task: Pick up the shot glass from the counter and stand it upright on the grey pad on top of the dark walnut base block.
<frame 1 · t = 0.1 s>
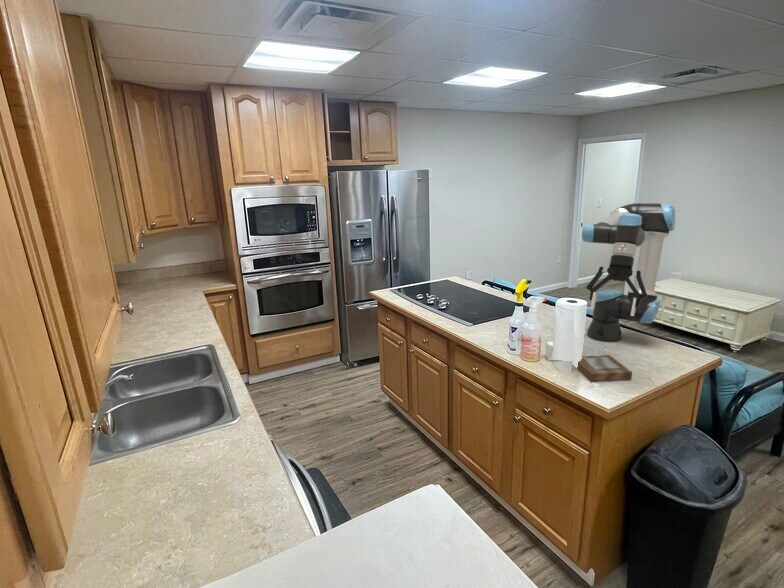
hand: (611, 312, 156), 28 cm above the counter, tool tilted 20°, fingers open, 13 cm apart
walnut base: (600, 372, 170), on the counter
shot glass: (552, 358, 184), on the counter
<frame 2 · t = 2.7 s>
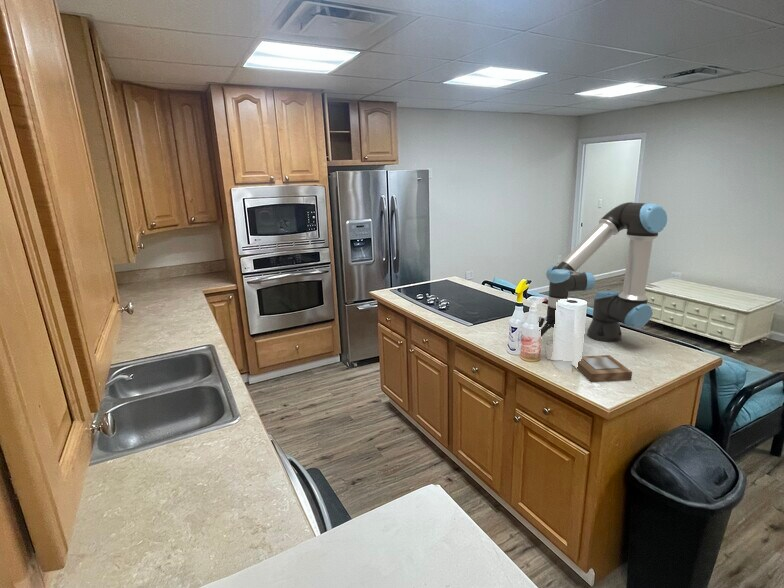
hand: (552, 352, 183), 3 cm above the counter, tool pointing down, fingers open, 13 cm apart
nothing on the counter moved.
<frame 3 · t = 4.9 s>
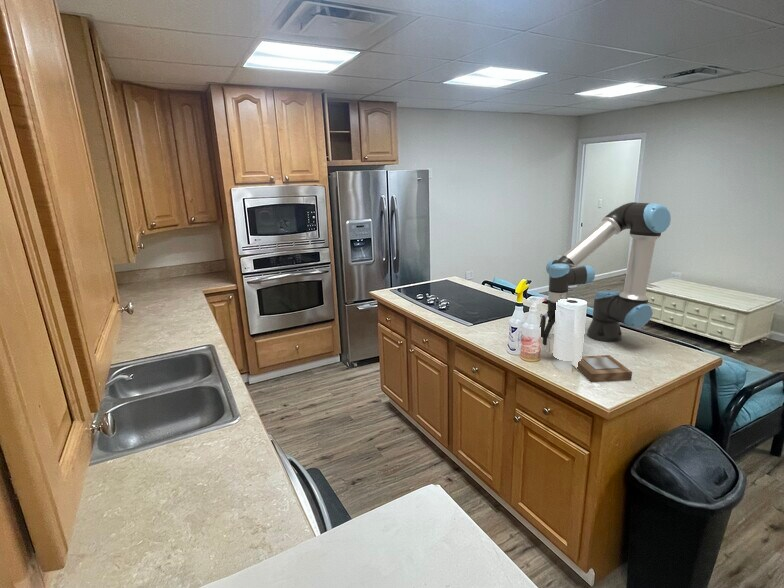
hand: (554, 350, 183), 3 cm above the counter, tool pointing down, fingers closed on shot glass, 7 cm apart
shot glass: (554, 352, 183), point 3 cm above the counter, touching gripper
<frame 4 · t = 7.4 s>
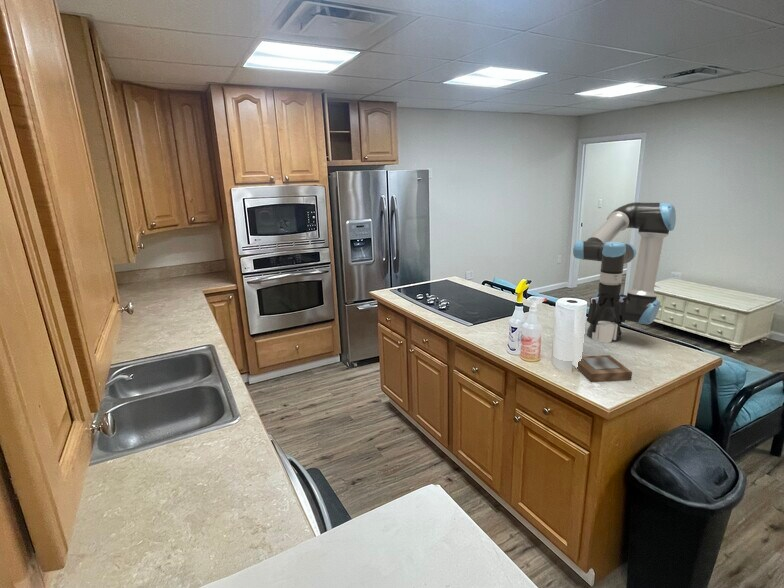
hand: (603, 339, 166), 14 cm above the counter, tool pointing down, fingers closed on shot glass, 7 cm apart
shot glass: (603, 340, 166), point 14 cm above the counter, touching gripper
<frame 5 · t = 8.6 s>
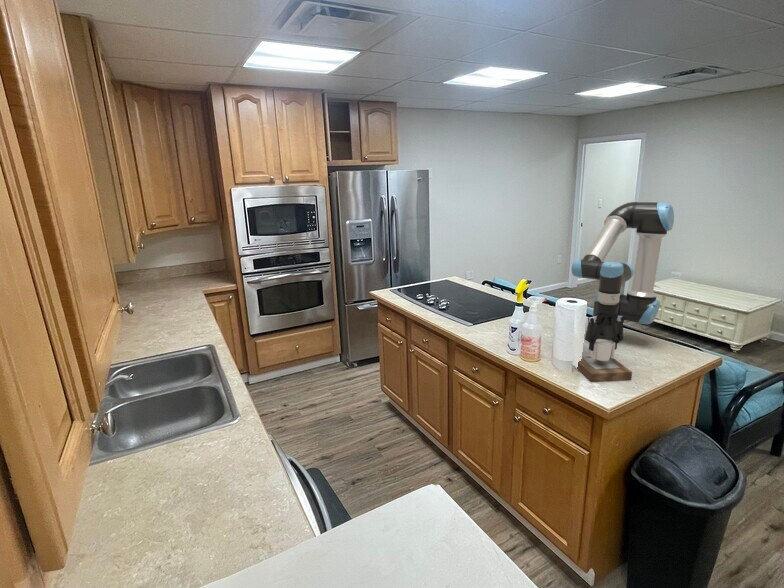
hand: (601, 357, 168), 7 cm above the counter, tool pointing down, fingers closed on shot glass, 7 cm apart
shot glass: (601, 358, 168), point 6 cm above the counter, touching gripper
when the fingers open (5 cm above the counter, at t = 9.7 s): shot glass stays where it is, resting on walnut base.
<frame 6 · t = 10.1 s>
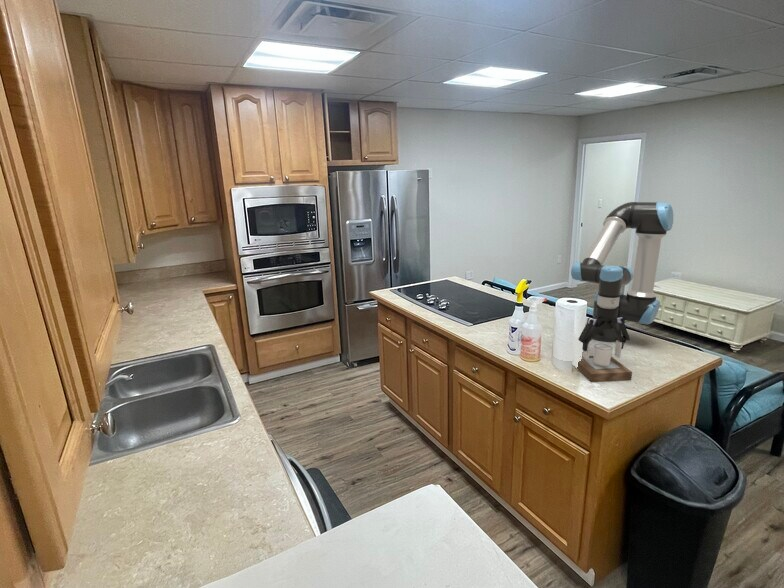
hand: (601, 357, 168), 6 cm above the counter, tool pointing down, fingers open, 12 cm apart
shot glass: (601, 363, 169), point 4 cm above the counter, touching walnut base
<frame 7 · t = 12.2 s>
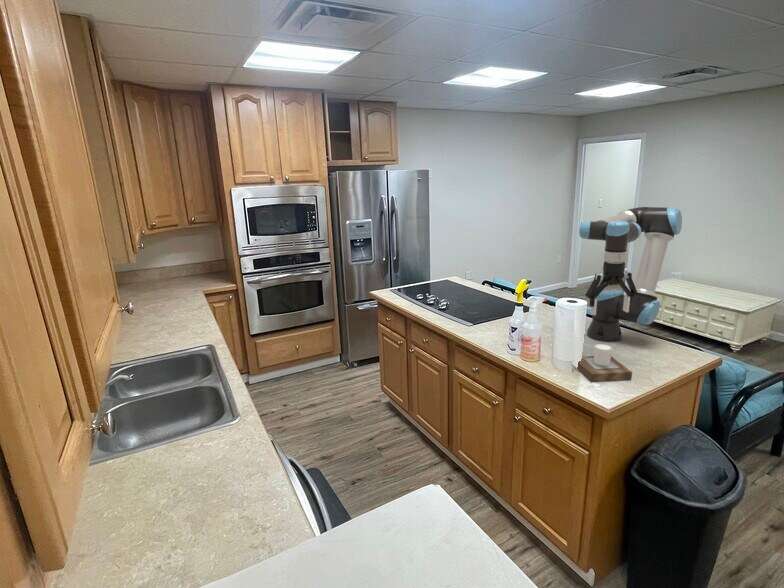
hand: (609, 312, 171), 23 cm above the counter, tool pointing down, fingers open, 13 cm apart
nothing on the counter moved.
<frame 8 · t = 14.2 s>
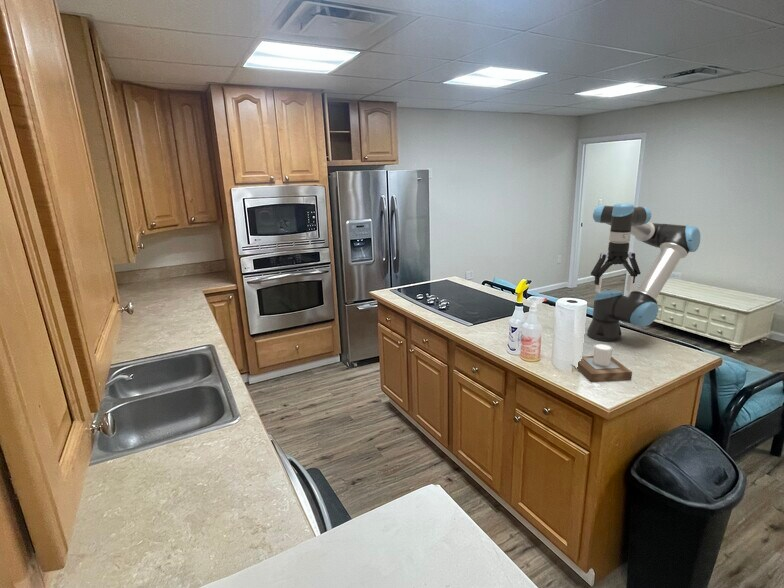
hand: (613, 291, 179), 29 cm above the counter, tool pointing down, fingers open, 13 cm apart
nothing on the counter moved.
at the end: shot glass inside the target area on the walnut base (0.1 cm from its centre), point 3.8 cm above the walnut base's base; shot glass tilted 0°; the gripper is holding nothing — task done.
